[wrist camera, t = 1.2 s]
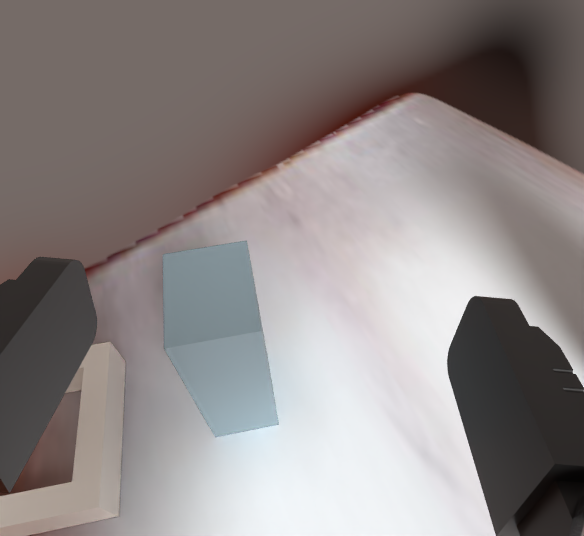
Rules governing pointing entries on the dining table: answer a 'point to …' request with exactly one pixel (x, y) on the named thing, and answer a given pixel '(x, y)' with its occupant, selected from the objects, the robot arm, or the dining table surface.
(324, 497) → the dining table surface
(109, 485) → the end cap
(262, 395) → the blue-grey rectangular block
